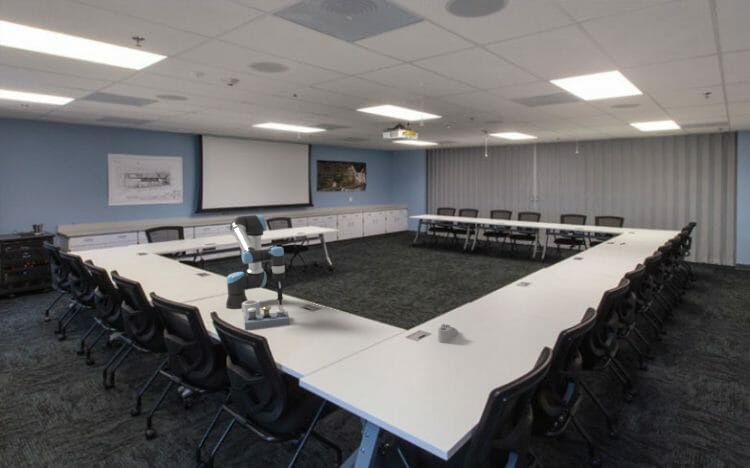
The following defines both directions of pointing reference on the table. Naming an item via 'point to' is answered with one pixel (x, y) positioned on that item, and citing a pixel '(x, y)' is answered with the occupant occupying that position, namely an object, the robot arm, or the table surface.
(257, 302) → the mug
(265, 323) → the panel
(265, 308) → the pot knob
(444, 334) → the grey mounting bracket
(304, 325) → the table surface
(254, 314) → the knob
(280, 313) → the knob
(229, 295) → the robot arm
